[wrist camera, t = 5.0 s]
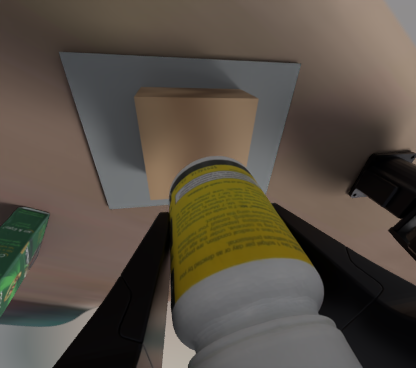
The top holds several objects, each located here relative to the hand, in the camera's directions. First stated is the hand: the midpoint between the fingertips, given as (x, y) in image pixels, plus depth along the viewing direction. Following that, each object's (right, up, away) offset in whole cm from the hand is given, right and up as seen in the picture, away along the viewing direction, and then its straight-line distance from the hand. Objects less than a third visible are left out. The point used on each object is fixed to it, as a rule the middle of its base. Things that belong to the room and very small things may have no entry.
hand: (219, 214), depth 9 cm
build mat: (-2, +5, +9) cm, 11 cm away
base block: (-2, +6, +8) cm, 10 cm away
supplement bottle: (0, +1, +2) cm, 2 cm away
